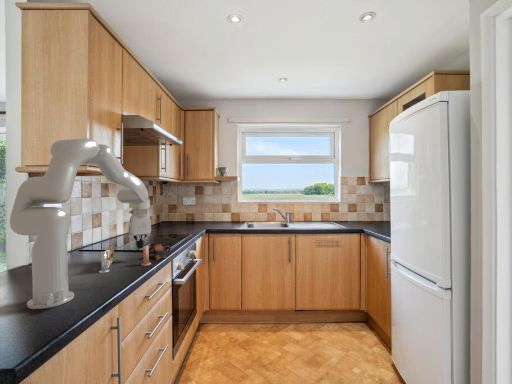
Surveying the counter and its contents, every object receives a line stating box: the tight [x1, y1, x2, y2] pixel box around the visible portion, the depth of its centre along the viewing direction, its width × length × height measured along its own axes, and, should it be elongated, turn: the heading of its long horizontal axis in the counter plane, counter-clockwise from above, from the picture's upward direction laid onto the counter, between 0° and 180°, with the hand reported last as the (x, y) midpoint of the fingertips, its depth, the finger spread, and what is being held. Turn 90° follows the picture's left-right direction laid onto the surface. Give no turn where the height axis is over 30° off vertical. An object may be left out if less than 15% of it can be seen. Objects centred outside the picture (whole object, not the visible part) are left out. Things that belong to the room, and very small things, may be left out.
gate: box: [105, 245, 115, 269], centre depth 133 cm, size 18×2×8 cm, turn 18°
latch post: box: [141, 245, 152, 267], centre depth 134 cm, size 4×4×9 cm
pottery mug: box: [148, 244, 172, 261], centre depth 148 cm, size 12×10×8 cm
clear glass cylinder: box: [98, 250, 111, 274], centre depth 123 cm, size 4×4×9 cm
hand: (139, 247), depth 141 cm, fingers closed
